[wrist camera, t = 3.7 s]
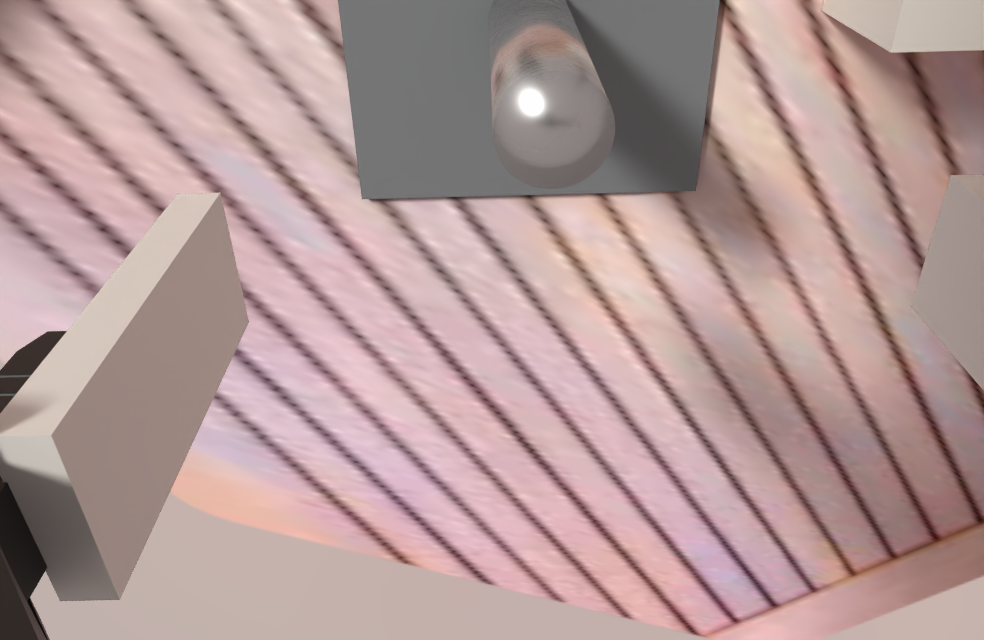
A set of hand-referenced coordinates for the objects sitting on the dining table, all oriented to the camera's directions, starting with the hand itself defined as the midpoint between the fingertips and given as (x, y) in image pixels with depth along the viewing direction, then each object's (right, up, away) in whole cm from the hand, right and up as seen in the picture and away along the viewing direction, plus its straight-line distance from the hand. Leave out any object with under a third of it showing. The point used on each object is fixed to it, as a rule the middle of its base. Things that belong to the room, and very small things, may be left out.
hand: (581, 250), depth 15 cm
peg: (0, +10, +15) cm, 18 cm away
